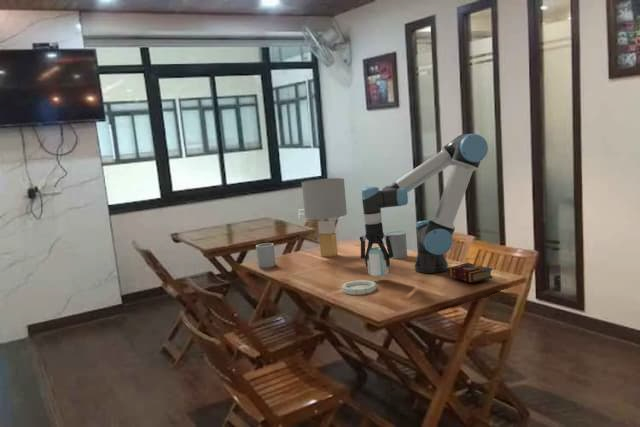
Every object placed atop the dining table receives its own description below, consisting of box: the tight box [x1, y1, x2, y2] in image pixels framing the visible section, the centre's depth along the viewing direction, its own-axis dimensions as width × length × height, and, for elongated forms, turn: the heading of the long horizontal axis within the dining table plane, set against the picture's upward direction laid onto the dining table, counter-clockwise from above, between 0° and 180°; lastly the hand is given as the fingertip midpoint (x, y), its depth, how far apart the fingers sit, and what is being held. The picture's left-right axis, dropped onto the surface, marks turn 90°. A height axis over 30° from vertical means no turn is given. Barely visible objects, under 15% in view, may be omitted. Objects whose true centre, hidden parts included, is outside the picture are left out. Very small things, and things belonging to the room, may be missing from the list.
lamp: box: [301, 177, 348, 258], centre depth 300 cm, size 23×23×42 cm
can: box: [369, 246, 385, 278], centre depth 244 cm, size 7×7×12 cm
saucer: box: [341, 279, 377, 296], centre depth 233 cm, size 14×14×2 cm
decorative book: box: [448, 262, 494, 283], centre depth 238 cm, size 11×16×5 cm
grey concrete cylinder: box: [386, 231, 408, 260], centre depth 288 cm, size 10×10×12 cm
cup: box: [255, 242, 276, 269], centre depth 290 cm, size 9×9×12 cm
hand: (378, 273), depth 245 cm, fingers closed on can, 7 cm apart
